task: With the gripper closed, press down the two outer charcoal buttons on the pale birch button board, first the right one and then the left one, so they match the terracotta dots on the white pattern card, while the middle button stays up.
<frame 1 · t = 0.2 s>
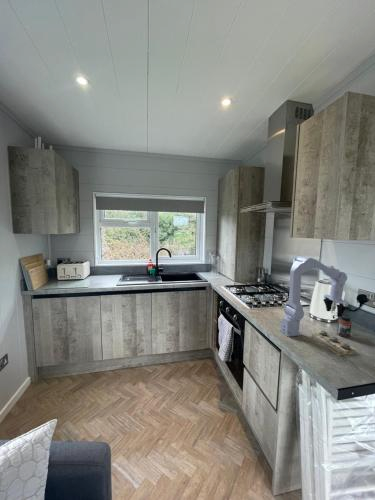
hand: (333, 313, 129), 10 cm above the worktop, tool pointing down, fingers open, 7 cm apart
supplement bottle: (343, 335, 124), on the worktop
button left: (323, 333, 120), point 3 cm above the worktop, slide at 0.0 cm
button right: (346, 346, 107), point 3 cm above the worktop, slide at 0.0 cm
button board: (332, 344, 114), on the worktop
button middle: (334, 339, 114), point 3 cm above the worktop, slide at 0.0 cm
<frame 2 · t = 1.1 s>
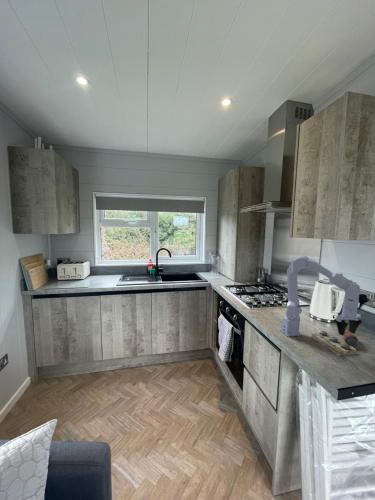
hand: (346, 333, 109), 9 cm above the worktop, tool pointing down, fingers open, 7 cm apart
supplement bottle: (347, 332, 121), point 3 cm above the worktop
everything else where it was.
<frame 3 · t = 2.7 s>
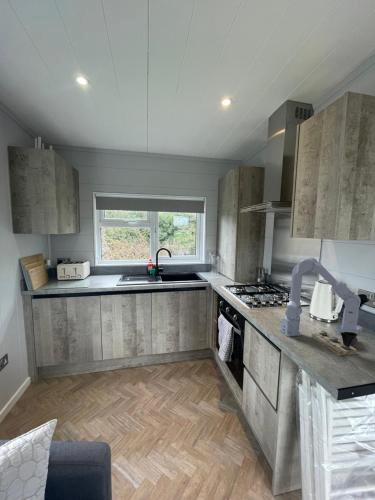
hand: (346, 345, 107), 3 cm above the worktop, tool pointing down, fingers closed, pressing on button right
button right: (346, 347, 107), point 2 cm above the worktop, slide at 0.1 cm, touching gripper
everything else where it was.
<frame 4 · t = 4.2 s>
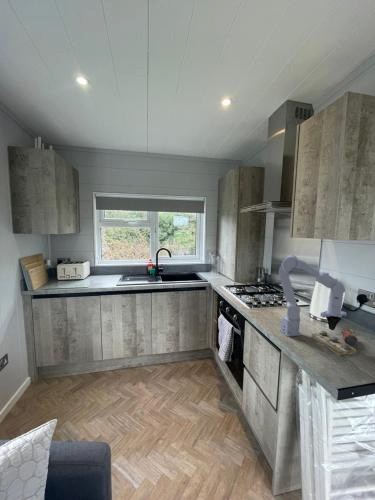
hand: (331, 329, 115), 7 cm above the worktop, tool pointing down, fingers closed
button right: (345, 348, 108), point 2 cm above the worktop, slide at 1.0 cm
everything else where it was.
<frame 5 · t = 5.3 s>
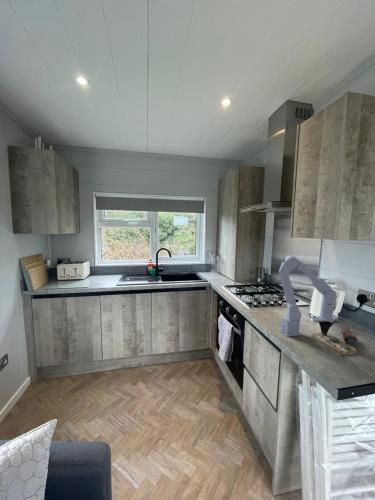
hand: (323, 333, 120), 3 cm above the worktop, tool pointing down, fingers closed, pressing on button left
button left: (323, 335, 120), point 2 cm above the worktop, slide at 0.8 cm, touching gripper
everything else where it was.
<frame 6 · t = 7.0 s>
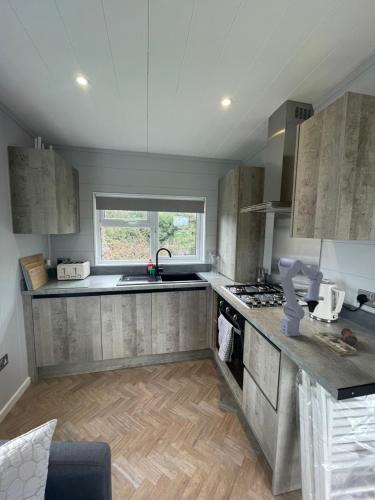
hand: (311, 312, 132), 9 cm above the worktop, tool pointing down, fingers closed
button left: (323, 335, 120), point 2 cm above the worktop, slide at 1.0 cm
everything else where it was.
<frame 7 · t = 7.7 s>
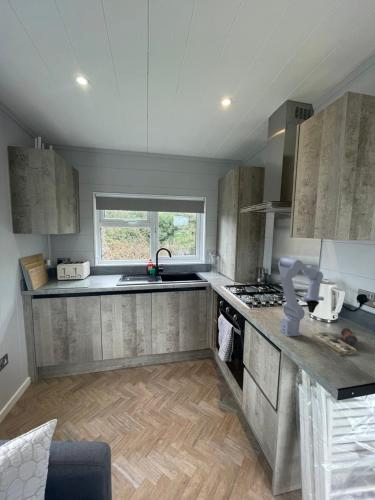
hand: (311, 312, 132), 9 cm above the worktop, tool pointing down, fingers closed
nothing on the worktop moved.
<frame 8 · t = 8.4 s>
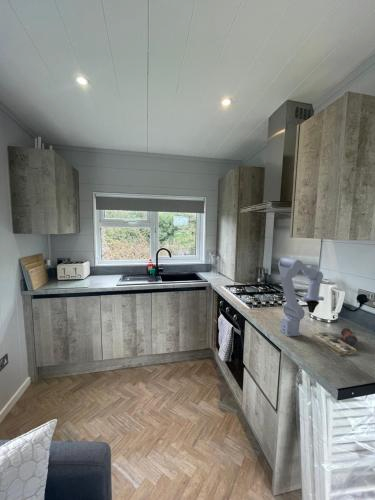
hand: (311, 312, 132), 9 cm above the worktop, tool pointing down, fingers closed
nothing on the worktop moved.
at the end: button right slide at 1.0 cm; button left slide at 1.0 cm; button middle slide at 0.0 cm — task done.
